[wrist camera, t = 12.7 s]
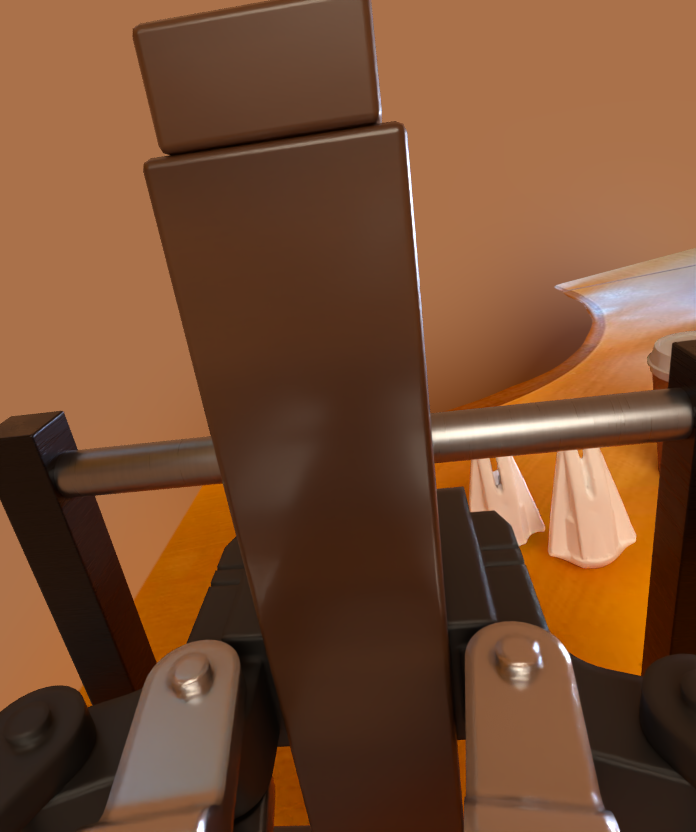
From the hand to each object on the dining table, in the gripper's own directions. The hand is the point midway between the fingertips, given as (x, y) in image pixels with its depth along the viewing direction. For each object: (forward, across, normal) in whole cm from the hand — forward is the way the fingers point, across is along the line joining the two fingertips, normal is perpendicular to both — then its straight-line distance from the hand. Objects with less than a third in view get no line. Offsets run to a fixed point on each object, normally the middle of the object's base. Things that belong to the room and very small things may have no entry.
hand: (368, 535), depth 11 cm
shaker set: (+28, -11, +23) cm, 38 cm away
